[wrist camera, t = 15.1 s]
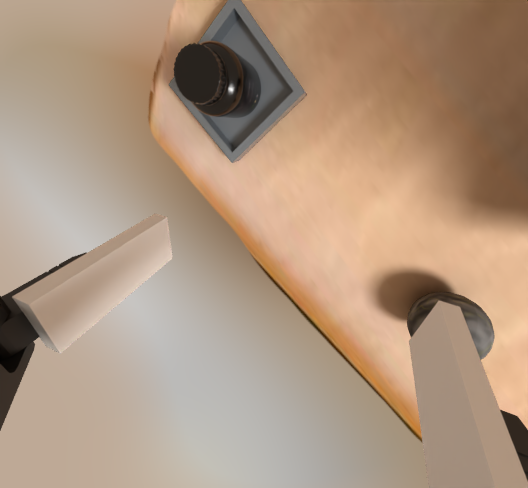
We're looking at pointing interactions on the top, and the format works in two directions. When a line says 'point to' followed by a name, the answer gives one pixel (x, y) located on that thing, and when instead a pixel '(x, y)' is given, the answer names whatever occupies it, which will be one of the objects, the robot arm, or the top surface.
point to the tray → (271, 77)
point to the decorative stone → (471, 312)
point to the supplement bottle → (217, 80)
